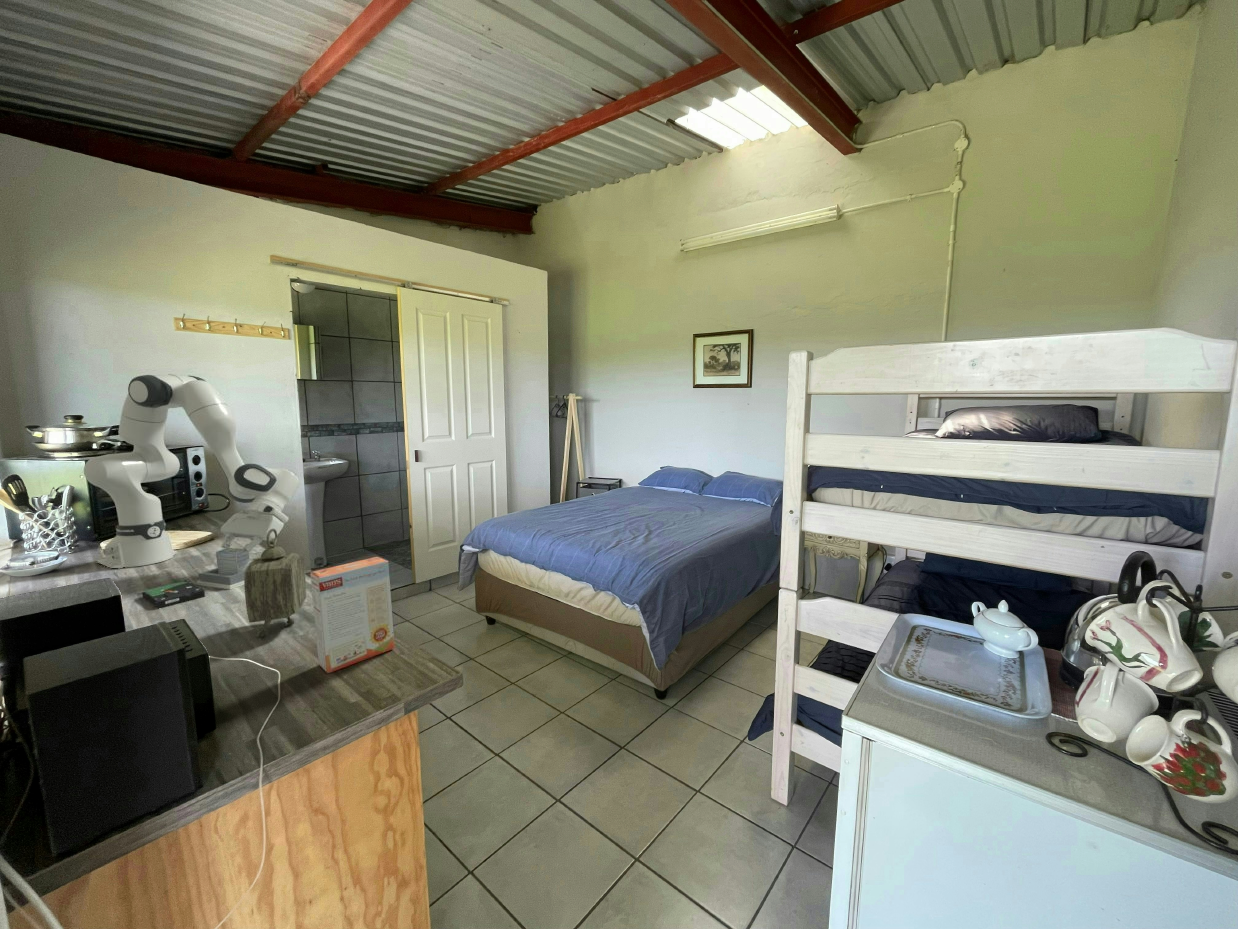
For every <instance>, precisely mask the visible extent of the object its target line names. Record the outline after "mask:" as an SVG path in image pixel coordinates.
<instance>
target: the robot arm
mask: <svg viewBox="0 0 1238 929" xmlns="http://www.w3.org/2000/svg"><path fill="white" fill-rule="evenodd" d="M127 391H128V393H127V395H126V398H125V400H124V403H123V406H122V411H121V415H120V420H119V426H118V430H117V431H118V435H119V437H120V439H121V440H123V441H125V442H126V443H128V444H130V445H133V451H131V452H121V453H108V454H104V455H99V456H96V457H92V458H89V459H88V460H87V462H85V464H84V467H83V475H84V477H85V479H86V480H87V481H88V482H89V483H90V484H91V485H93V486H94V487H98V488H100V489H101V490H103V491H104V492H106V493H107V494H108V496H110V498H111V499H112V501H113V502H114V505H115V508H116V513H117V514H116V515H117V520H118V524H117V525H115V526H114V527H115V528H114V529H115V530H116V532H115V534H116V535H115V536H114V538H112V539H111V540H110V541H109V542H108V543H106V545H105V546H104V548H103V550H102V553H103V555H104V557H103V558H99V559H97V560H96V561H98V562H100V563H102V564H104V565H107V566H109V567H111V568H118V569H124V568H123V567H125V568H134V567H141V566H146V565H147V566H148V565H153V564H156V563H157V564H158V563H161V562H164V561H168V560H170V559H172V558H173V557H174V556H175V555H177V554H178V552H177V550H174V547H173V542H172V540H171V536H170V533H169V532H167V531H166V522H165V519H164V518H163V511H162V503H161V502H162V501H161V500H160V498H159V497H158V496H156V495H154V494H152V493H147V492H146V491H144V490H143V489H142V485H141V484H142V483H152V482H159V481H162V480H166V479H169V478H172V477H175V476H176V475H177V474H178V473H179V471H180V467H181V465H180V460H179V458H178V457H177V455H176V454H174V453H172V451H170V450H169V449H168V448H167V446H166V444H165V431H166V430H165V428H166V424H167V418H168V414H169V413H168V412H169V409H178V408H182V409H183V410H184V412H185V413H186V416H187V417H188V419H189V420H190V422H191V424H192V425H193V426H194V427H195V429H196V431H197V432H198V433H199V435H200V436H201V438H203V440H204V442H205V443H206V445H207V446H208V448H209V449H210V451H211V452H212V454H213V455H214V458H215V459H216V461H217V463H218V464H219V467H220V468H221V470H222V472H223V474H224V476H225V477H226V481H227V482H226V483H227V485H226V486H227V493H228V496H230V498H231V499H232V500H234V501H236V502H238V503H241V504H242V503H243V504H248V503H250V504H249V506H247V508H246V509H245V510H240V511H239V512H236V513H234V514H233V515H231V517H229V519H227V520H226V521H225V523H224V524H223V525H222V526H221V528H220V533H221V534H222V535H224V539H223V540H224V541H223V542H222V544H221V545H220V546H221V547H222V548H223V549H227V548H231V547H232V545H233V544H232V541H233V540H235V539H236V538H240V539H250V540H251V541H250V542H249V543H246V544H245V545H244V547H243V549H244V550H246V551H249V552H251V551H253V549H254V548H255V547H257V546H258V545H260V544H261V543H262V541H266V538H267V534H268V532H269V530H271V529H275V530H276V531H277V536H278V535H279V534H280V532H281V530H282V529H283V528H284V525H285V524H286V523H288V521H289V516H287V515H286V514H285V513H283V510H284V507H285V505H287V504H288V503H289V502H290V501H291V499H292V498H293V497H294V495H295V493H296V492H297V491H298V488H299V485H300V479H299V478H298V476H297V475H296V474H295V472H293V471H291V470H290V469H287V468H270V467H267V466H262V465H260V464H257V463H246V464H245V462H244V460H243V459H242V457H241V454H240V453H239V451H238V448H237V446H236V431H237V430H236V429H237V423H236V422H237V421H236V420H235V416H234V414H233V412H232V410H231V408H230V406H229V405H228V403H227V402H226V401H225V399H224V398H223V396H222V395H221V394H220V393H219V391H218V390H217V389H216V388H215V387H214V386H213V384H211V383H210V382H208V381H206V380H205V379H204V378H201V377H198V376H194V375H183V374H171V373H170V374H169V373H168V374H156V375H155V374H153V375H152V374H143V375H139V376H136V377H134V378H132V379H131V380H130V382H129V384H128V387H127ZM274 539H275V533H274V532H272V533H271V534H270V537H269V542H270V541H272V540H274ZM111 568H110V569H111Z"/></svg>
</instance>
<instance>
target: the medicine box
mask: <svg viewBox="0 0 1238 929" xmlns="http://www.w3.org/2000/svg"><path fill="white" fill-rule="evenodd" d="M215 557H216V558H215V559H216V565H217V566H216V568H218V574H222V575H230V576H232V575H235V574H238V573H241V572H244V571H245V570H246V568H247V566H248V565H249V564H250V562H251V559H250V551H246V550H244V548H236V547H230V548H227V549H226V548H223V549H220V550H217V551H215Z"/></svg>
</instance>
